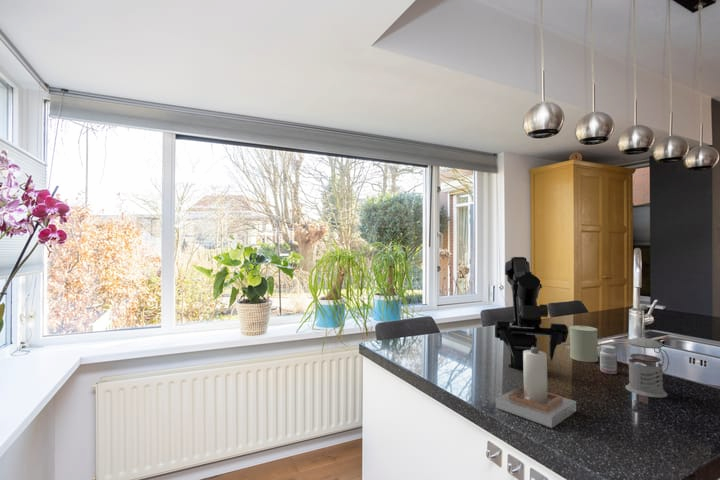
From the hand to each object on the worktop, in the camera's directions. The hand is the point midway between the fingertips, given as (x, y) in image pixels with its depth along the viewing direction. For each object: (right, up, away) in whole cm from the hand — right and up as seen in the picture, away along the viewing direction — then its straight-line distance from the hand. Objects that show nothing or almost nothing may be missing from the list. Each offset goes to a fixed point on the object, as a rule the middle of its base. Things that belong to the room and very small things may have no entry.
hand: (532, 358), depth 98 cm
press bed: (-1, -12, -4) cm, 13 cm away
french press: (+38, -12, +8) cm, 40 cm away
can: (+38, -13, +39) cm, 56 cm away
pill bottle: (+37, -13, +24) cm, 46 cm away
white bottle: (-1, -9, -4) cm, 10 cm away
